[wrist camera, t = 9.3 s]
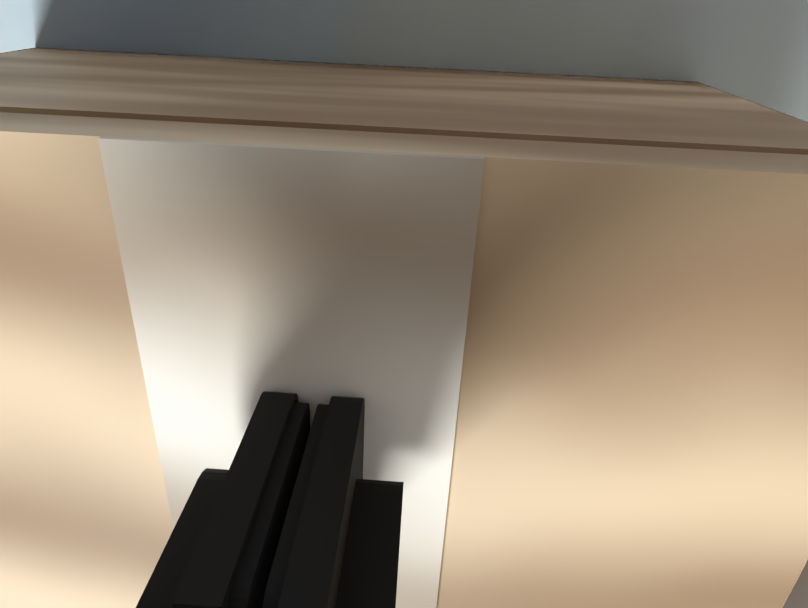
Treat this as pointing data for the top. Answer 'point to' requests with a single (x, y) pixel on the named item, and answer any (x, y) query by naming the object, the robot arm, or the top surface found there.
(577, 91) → the box
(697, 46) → the top surface
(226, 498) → the robot arm
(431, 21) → the top surface
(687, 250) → the lid
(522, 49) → the top surface
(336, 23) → the top surface
